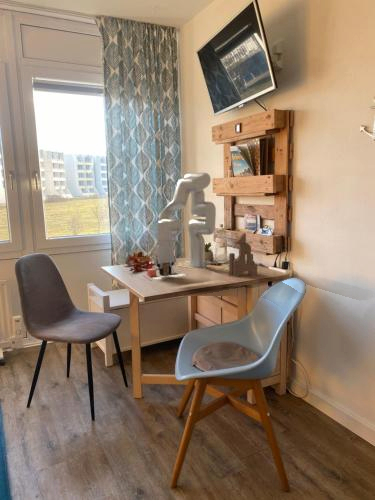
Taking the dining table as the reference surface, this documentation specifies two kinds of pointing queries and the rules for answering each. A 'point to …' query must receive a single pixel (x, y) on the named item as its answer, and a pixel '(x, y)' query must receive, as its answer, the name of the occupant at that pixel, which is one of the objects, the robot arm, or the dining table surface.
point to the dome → (172, 270)
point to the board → (153, 273)
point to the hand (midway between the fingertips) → (165, 274)
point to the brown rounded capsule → (165, 269)
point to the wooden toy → (242, 259)
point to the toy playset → (139, 262)
